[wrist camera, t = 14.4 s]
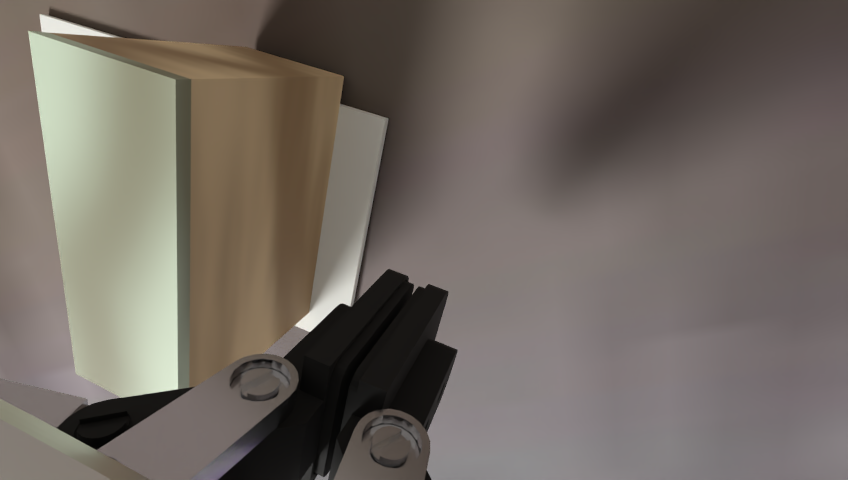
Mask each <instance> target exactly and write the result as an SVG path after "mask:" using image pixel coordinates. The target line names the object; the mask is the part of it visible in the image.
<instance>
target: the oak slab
mask: <svg viewBox="0 0 848 480" xmlns="http://www.w3.org/2000/svg"><path fill="white" fill-rule="evenodd" d="M28 33H29V40H30V47H31V54H32V62H33V69H34V76H35V83H36V90H37V98H38V105H39V112H40V119H41V126H42V133H43V141H44V148H45V155H46V162H47V169H48V177H49V184H50V191H51V198H52V205H53V212H54V220H55V227H56V234H57V241H58V248H59V256H60V263H61V270H62V277H63V284H64V291H65V299H66V306H67V313H68V320H69V327H70V335H71V342H72V349H73V356H74V363H75V371H76V374H77V375H79V376H81V377H83V378H85V379H87V380H89V381H91V382H93V383H94V384H96V385H98V386H100V387H102V388H104V389H106V390H108V391H110V392H111V393H113V394H115V395H117V396H119V397H121V398H123V397H130V396H136V395H143V394H150V393H156V392H163V391H170V390H176V389H183V388H189V387H196V386H197V385H199V384H200V383H202V382H203V381H205V380H207V379H208V378H210V377H211V376H213V375H214V374H216V373H217V372H219V371H221V370H222V369H224V368H225V367H227V366H228V365H230V364H232V363H233V362H235V361H237V360H239V359H241V358H243V357H246V356H250V355H254V354H263V353H264V352H265V351H266V350H267V349H268V348H269V347H271V346H272V345H273V344H274V343H275V342H276V341H277V340H279V339H280V338H281V337H282V336H283V335H284V334H285V333H286V332H288V331H289V330H290V329H291V328H292V327H293V326H294V325H296V324H297V323H298V322H299V321H300V320H301V319H302V318H303V317H305V316H306V315H307V314H308V313H309V309H310V302H311V295H312V289H313V282H314V275H315V269H316V262H317V255H318V248H319V242H320V235H321V228H322V221H323V215H324V208H325V201H326V195H327V188H328V181H329V174H330V168H331V161H332V154H333V148H334V141H335V134H336V127H337V121H338V114H339V107H340V100H341V94H342V87H343V80H344V76H342V75H338V74H335V73H332V72H328V71H325V70H322V69H318V68H315V67H311V66H308V65H305V64H301V63H298V62H295V61H291V60H288V59H285V58H281V57H278V56H275V55H271V54H268V53H265V52H261V51H258V50H255V49H251V48H248V47H239V46H226V45H212V44H198V43H185V42H171V41H157V40H144V39H130V38H116V37H103V36H89V35H75V34H61V33H48V32H34V31H28Z"/></svg>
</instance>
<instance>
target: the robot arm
mask: <svg viewBox="0 0 848 480" xmlns="http://www.w3.org/2000/svg"><path fill="white" fill-rule="evenodd" d="M408 279H409V278H408V276H406V275H403V274H401V273H398V272H395V271H393V270H390V269H388V270H387V271H386V272H385V273H384V274H383V275H382V276H381V277H380V278H379V279H378V280H377V281H376V282H375V283H374V284H373V285H372V286H371V287H370V288H369V289H368V290H367V291H366V292H365V293H364V294H363V295H362V296H361V297H360V298H359V300H358V301H357V302H356V303H355V304H354V305H353V306H352V307H351V306H348V305H346V304H343V303H342V304H339V305H338V306H337V307H335V308H334V309H333V310H332V311H331V312H330V313H329V314H328V315H327V316H326V317H325V318H324V319H323V320H322V321H321V322H320V323H319V324H318V325H317V326H316V327H315V328H314V329H313V330H312V331H311V332H310V333H309V334H308V335H307V336H305V337H304V338H303V339H302V340H301V341H300V342H299V343H298V344H297V345H296V346H295V347H294V348H293V349H292V350H291V351H290V352H289V353H288V354H287V355H286V356H285V357H284V358H282V357H280V356H277V355H271V354H254V355H250V356H246V357H243V358H241V359H239V360H237V361H235V362H233V363H232V364H230V365H228V366H227V367H225V368H224V369H222V370H221V371H219V372H217V373H216V374H214V375H213V376H211V377H210V378H208V379H207V380H205V381H203V382H202V383H200V384H199V385H197V386H196V387H189V388H183V389H176V390H170V391H163V392H156V393H150V394H143V395H136V396H130V397H123V398H117V399H110V400H106V401H101V402H97V403H94V404H91V405H88V402H87V399H86V398H82V397H77V396H73V395H69V394H65V393H60V392H56V391H52V390H48V389H43V388H39V387H35V386H31V385H26V384H22V383H18V382H14V381H9V380H5V379H1V378H0V480H314V479H315V478H316V476H317V475H318V474H319V475H321V476H323V477H325V476H326V475H327V474H328V472H329V471H330V474H329V479H328V480H431V478H430V476H429V474H428V472H427V465H428V460H429V455H430V440H429V437H428V434H427V431H428V429H429V426H430V424H431V422H432V419H433V417H434V414H435V412H436V410H437V407H438V405H439V403H440V400H441V398H442V395H443V392H444V390H445V387H446V384H447V381H448V379H449V376H450V373H451V370H452V367H453V364H454V361H455V358H456V354H457V349H454V348H452V347H449V346H447V345H444V344H442V343H439V342H437V341H435V337H436V334H437V331H438V327H439V324H440V321H441V317H442V314H443V310H444V307H445V304H446V300H447V297H448V291H446V290H443V289H440V288H438V287H435V286H432V285H430V284H428V285H427V286H426V288H422V287H418V288H417V289H416V291H415V292H414V293H413V295H412V292H413V288H414V284H412V283H409V282H408Z"/></svg>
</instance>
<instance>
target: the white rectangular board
mask: <svg viewBox="0 0 848 480" xmlns="http://www.w3.org/2000/svg"><path fill="white" fill-rule="evenodd" d="M40 21H41V28H42V32H48V33H61V34H75V35H89V36H103V37H116V38H122V37H119V36H115V35H112V34H109V33H105V32H102V31H99V30H96V29H92V28H89V27H86V26H82V25H79V24H76V23H72V22H69V21H66V20H63V19H59V18H56V17H53V16H49V15H44V14H40ZM388 120H389V118H386V117H383V116H379V115H376V114H373V113H369V112H366V111H363V110H359V109H356V108H353V107H350V106H346V105H343V104H340V107H339V114H338V121H337V127H336V134H335V141H334V148H333V154H332V161H331V168H330V174H329V181H328V188H327V195H326V201H325V208H324V215H323V221H322V228H321V235H320V242H319V248H318V255H317V262H316V269H315V275H314V282H313V289H312V295H311V302H310V309H309V313H308V314H307V315H306V316H305V317H303V318H302V319H301V320H300V321H299V322H298V323H297V324H296V325H295V326H297V327H299V328H302V329H304V330H306V331H309V332H311V331H312V330H313V329H314V328H315V327H316V326H317V325H318V324H319V323H320V322H321V321H322V320H323V319H324V318H325V317H326V316H327V315H328V314H329V313H330V312H331V311H332V310H333V309H334V308H335V307H337V306H338V305H339V304H342V303H343V304H346V305H348V306H351V307H352V306H353V304H354V299H355V293H356V288H357V283H358V278H359V272H360V267H361V262H362V257H363V251H364V246H365V241H366V236H367V230H368V225H369V220H370V214H371V209H372V204H373V199H374V193H375V188H376V183H377V178H378V172H379V167H380V162H381V156H382V151H383V146H384V141H385V135H386V130H387V125H388Z"/></svg>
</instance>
